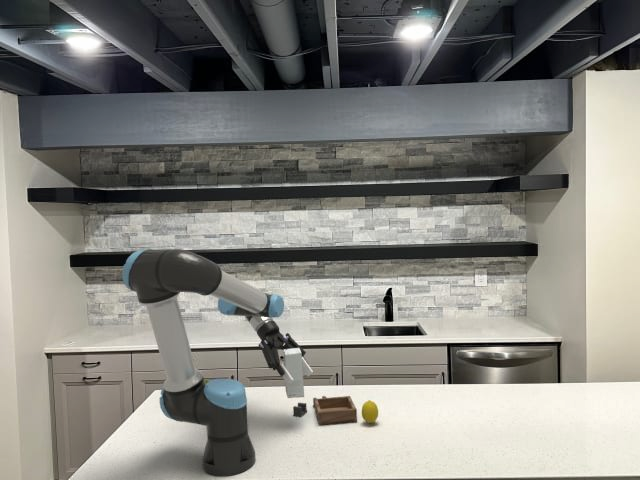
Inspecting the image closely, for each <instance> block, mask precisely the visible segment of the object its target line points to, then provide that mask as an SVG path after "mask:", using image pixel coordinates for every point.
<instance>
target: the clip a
mask: <svg viewBox="0 0 640 480" xmlns="http://www.w3.org/2000/svg"><path fill="white" fill-rule="evenodd" d="M292 408H293V410H292V411H293V412H292V413H293V414H292V417H295V418H303V417H304V415H307V413H308V410H307V408H308V407H307V403H305V402H298V403H297V405H295V406H294V405H293V407H292Z"/></svg>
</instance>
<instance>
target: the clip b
mask: <svg viewBox="0 0 640 480" xmlns="http://www.w3.org/2000/svg"><path fill="white" fill-rule="evenodd" d="M312 398H313V399H312V402H313V403H312V404H313V405H312V408H313V409H314V410H315V400H314V399H318V398H317V397H312ZM321 398H328V397H326V396H325V395H322V396H321Z"/></svg>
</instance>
